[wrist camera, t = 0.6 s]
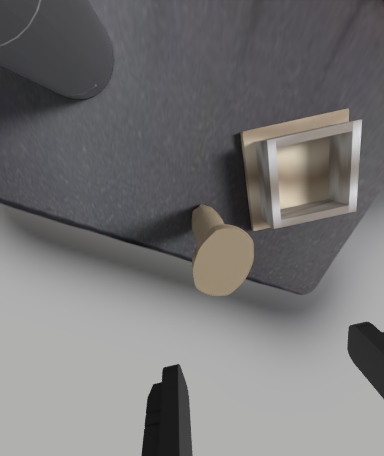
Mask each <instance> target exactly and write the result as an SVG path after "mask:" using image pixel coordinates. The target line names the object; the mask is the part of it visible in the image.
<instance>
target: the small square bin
mask: <svg viewBox="0 0 384 456" xmlns="http://www.w3.org/2000/svg"><path fill="white" fill-rule="evenodd" d="M361 127H362V120H356V121H349V108H348V109H343V110H339V111H334V112H330V113H325V114H321V115H316V116H312V117H307V118H303V119H298V120H294V121H289V122H284V123H280V124H275V125H271V126H266V127H262V128H257V129H253V130H248V131H244V132H240V135H241V143H242V152H243V161H244V169H245V178H246V186H247V195H248V204H249V212H250V221H251V229H252V230H253V231H256V230H261V229H265V228H270V227H272V228H273V229H276V228H281V227H285V226H290V225H294V224H299V223H304V222H308V221H313V220H317V219H322V218H326V217H331V216H336V215H340V214H345V213H349V212H354V211H356V205H357V189H358V174H359V158H360V143H361Z"/></svg>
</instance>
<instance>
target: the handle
mask: <svg viewBox="0 0 384 456" xmlns="http://www.w3.org/2000/svg"><path fill="white" fill-rule="evenodd" d="M192 230H193V234H194V236H195V239H196V241H197V246H196V248H195V251H194V255H193V259H192V267H193V276H194V282H195V286H196V287H197V288H198V289H199V290H200V291H202V292H203V293H206V294H209V295H213V296H224V295H228V294H230V293H232V292H233V291H234V290H235V289H236V288H237V287H238V286H239V285H241V284H242V282H243V281H244V280H245V279H246V277H247V275H248V273H249V271H250V268H251V266H252V263H253V259H254V245H253V240H252V239H251V237H250V236H249V235H248V234H247V233H246V232H245V231H244V230H242V229H240V228H239V227H236V226H233V225H228V224H224V223H223V220H222V219H221V217H220V216H219V214H218V213H217V212H216V211H215V210H214V209H213V208H211V207H210V206H204V205H203V204H201V205H199V207H198V208H197V209H195V210H193V212H192Z"/></svg>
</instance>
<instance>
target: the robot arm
mask: <svg viewBox="0 0 384 456" xmlns="http://www.w3.org/2000/svg"><path fill="white" fill-rule="evenodd" d="M113 61H114V58H113V49H112V45H111V42H110V38H109V36H108V34H107V32H106V30H105V28H104V26H103V24H102V23H101V21H100V19H99V18H98V16H97V14H96V12H95V11H94V9H93V7H92V5H91V4H90V2H89V0H0V66H2V67H4V68H6V69H8V70H10V71H12V72H14V73H16V74H18V75H20V76H23V77H25V78H27V79H29V80H31V81H33V82H35V83H37V84H39V85H41V86H43V87H45V88H48V89H50V90H52V91H54V92H56V93H58V94H60V95H62V96H65V97H68V98H71V99H88V98H90V97H93V96H95V95H97V94H98V93H100V92H101V91H102V90H103V89H104V88H105V86H106V85H107V83H108V81H109V80H110V77H111V74H112V70H113ZM348 353H349V355H350V357H351V359H352V361H353V362H354V364H355V365H356V366H357V367H358V368H359V370H360V371H361V372H362V373H363V374H364V376H365V377H366V378H367V379H368V380H369V382H370V383H371V384H372V385H373V386H374V388H375V389H376V390H377V391H378V392H379V394H380V395H381V396H382V397H383V398H384V332H383V333H382V332H380V331H379V330H378V329H377V328H376V327H375V326H374V325H373V324H371V323H369V322H363V323H359V324H354V325H350V326H349V332H348ZM162 374H163V375H162V382H161V383H157V384H154V385H153V387H152V389H151V392H150V394H149V396H148V399H147V409H146V419H145V429H144V438H143V448H142V456H192V441H191V426H190V408H189V396H188V390H187V385H186V382H185V379H184V376H183V373H182V370H181V367H180V365H179V364H177V365H173V366H168V367H164V368H163V373H162Z"/></svg>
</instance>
